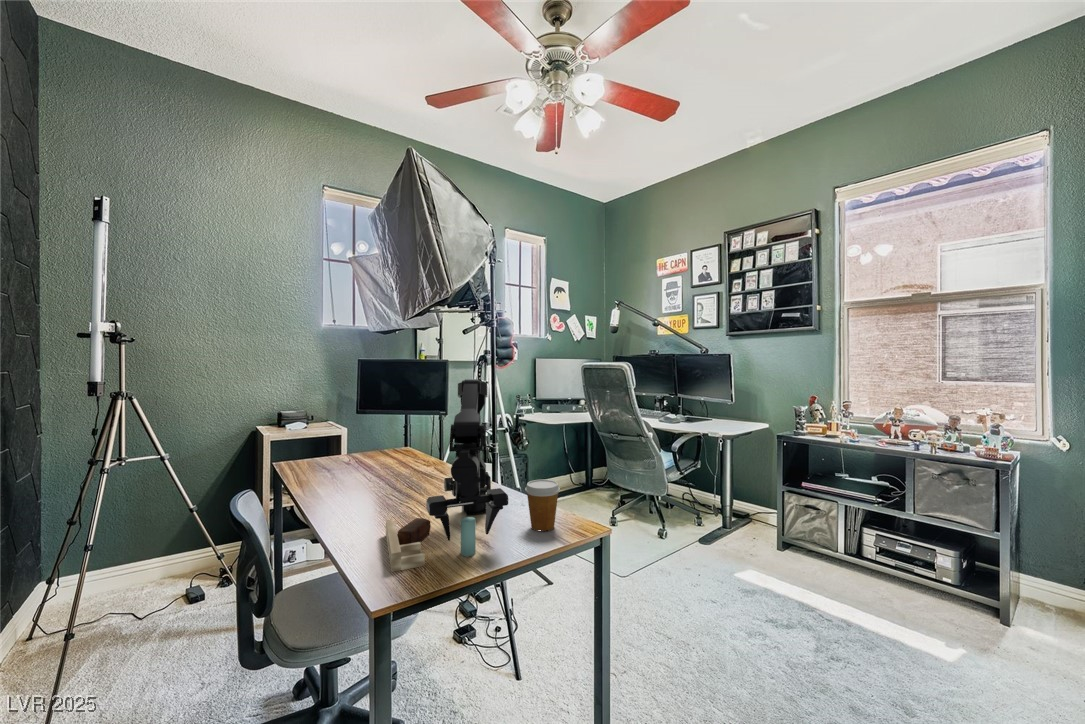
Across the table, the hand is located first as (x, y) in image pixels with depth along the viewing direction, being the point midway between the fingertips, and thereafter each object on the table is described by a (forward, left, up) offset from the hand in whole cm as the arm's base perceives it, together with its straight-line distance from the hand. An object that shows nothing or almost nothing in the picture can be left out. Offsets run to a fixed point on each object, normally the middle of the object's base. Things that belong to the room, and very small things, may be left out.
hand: (468, 537), depth 105 cm
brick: (+11, -12, -4) cm, 17 cm away
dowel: (0, 0, -4) cm, 4 cm away
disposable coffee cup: (-22, -7, -4) cm, 24 cm away
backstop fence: (+14, -8, -4) cm, 17 cm away
